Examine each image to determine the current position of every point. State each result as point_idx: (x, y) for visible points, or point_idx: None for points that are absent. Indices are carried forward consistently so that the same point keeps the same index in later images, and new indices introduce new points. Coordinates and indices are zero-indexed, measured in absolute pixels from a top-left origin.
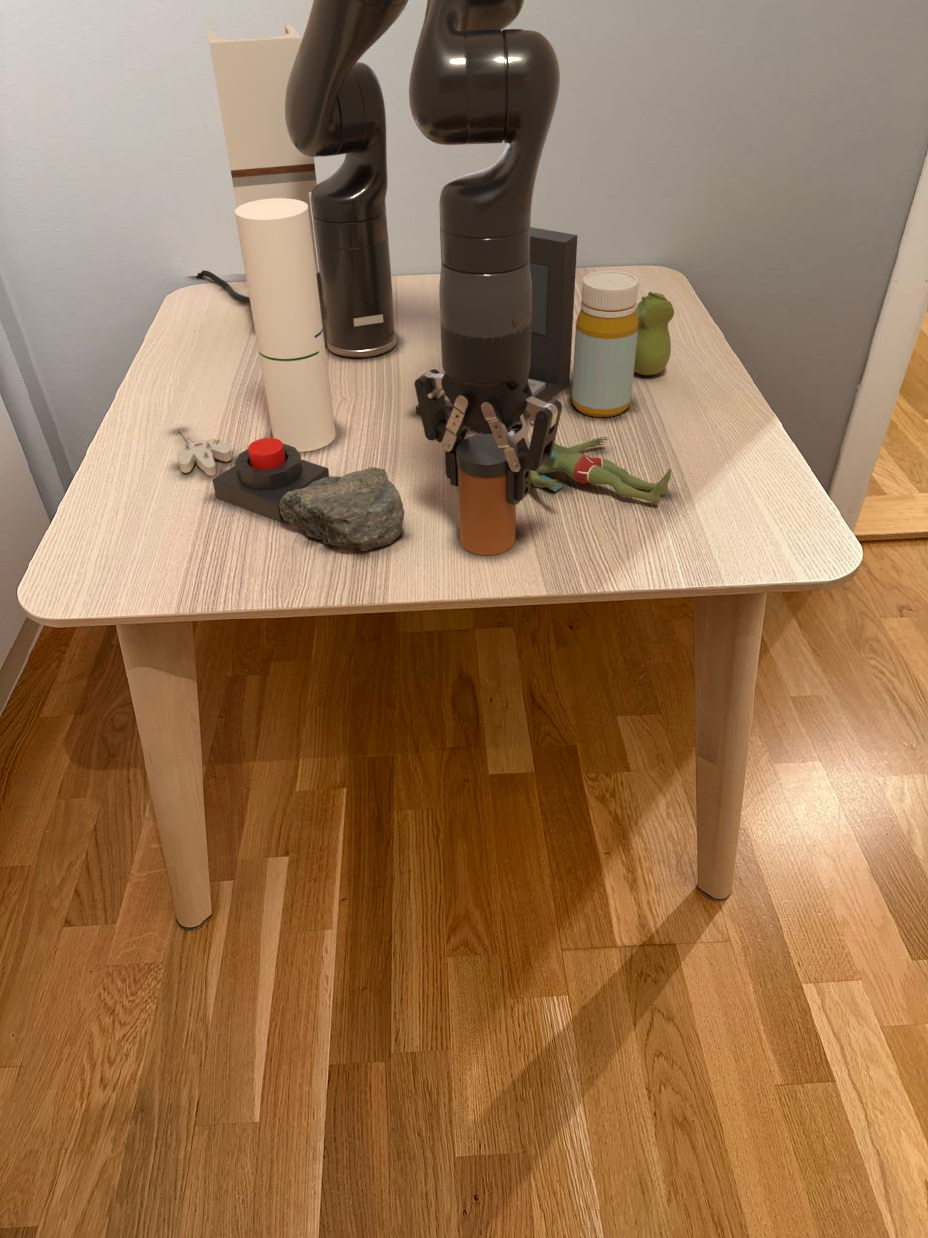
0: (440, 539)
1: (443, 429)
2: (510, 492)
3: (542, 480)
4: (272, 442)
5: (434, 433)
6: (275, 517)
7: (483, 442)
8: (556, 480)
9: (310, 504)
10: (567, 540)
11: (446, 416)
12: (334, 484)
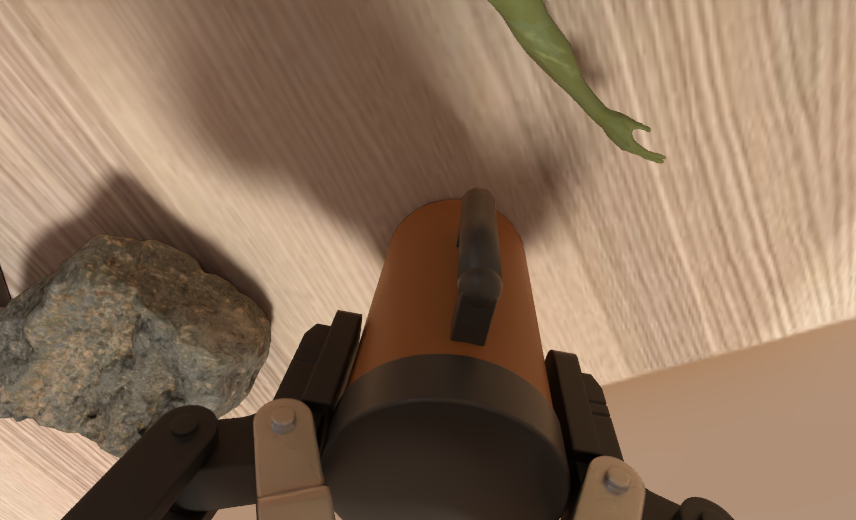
0: (352, 289)
1: (225, 496)
2: None
3: (575, 92)
4: None
5: (212, 516)
6: None
7: (408, 459)
8: (643, 128)
9: (71, 430)
10: (661, 203)
11: (181, 483)
12: (42, 362)
